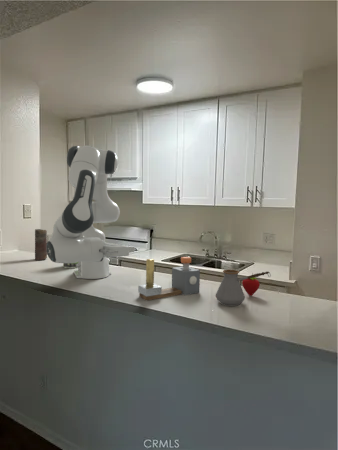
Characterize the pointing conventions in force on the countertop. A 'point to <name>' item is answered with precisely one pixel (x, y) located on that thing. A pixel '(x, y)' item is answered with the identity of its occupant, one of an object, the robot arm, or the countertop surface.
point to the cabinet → (186, 280)
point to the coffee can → (69, 265)
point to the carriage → (149, 281)
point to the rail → (162, 294)
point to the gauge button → (185, 262)
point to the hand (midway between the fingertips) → (127, 248)
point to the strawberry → (251, 285)
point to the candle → (40, 244)
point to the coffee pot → (232, 288)
